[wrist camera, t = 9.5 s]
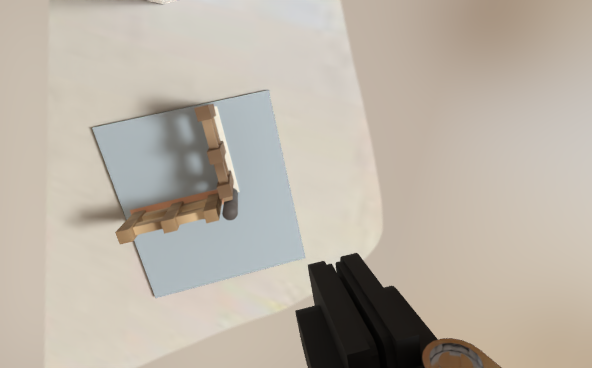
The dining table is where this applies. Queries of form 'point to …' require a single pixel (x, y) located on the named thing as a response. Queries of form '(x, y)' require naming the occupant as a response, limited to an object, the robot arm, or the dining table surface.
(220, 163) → the fence fixed
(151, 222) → the fence fold
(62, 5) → the dining table surface
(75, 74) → the dining table surface
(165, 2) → the white cup
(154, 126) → the card
